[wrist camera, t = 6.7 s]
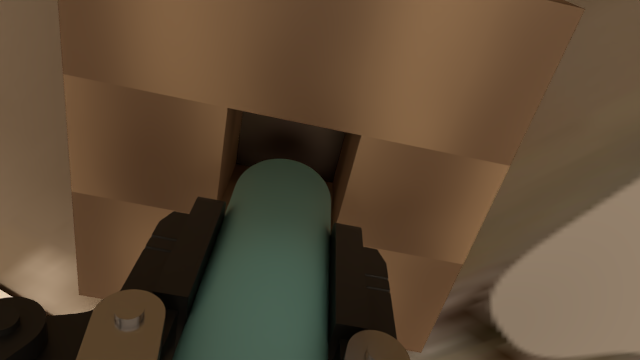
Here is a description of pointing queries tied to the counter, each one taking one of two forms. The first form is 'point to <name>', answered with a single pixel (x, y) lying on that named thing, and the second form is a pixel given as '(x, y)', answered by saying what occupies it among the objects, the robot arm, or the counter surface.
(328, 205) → the teal pin
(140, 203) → the walnut block
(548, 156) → the counter surface
